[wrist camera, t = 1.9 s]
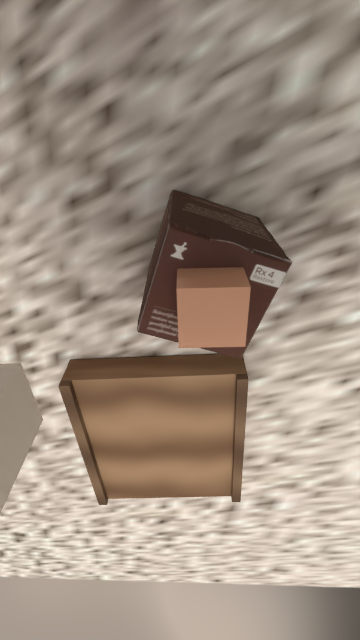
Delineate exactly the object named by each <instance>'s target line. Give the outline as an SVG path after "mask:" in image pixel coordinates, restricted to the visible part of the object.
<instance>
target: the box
mask: <svg viewBox="0 0 360 640" xmlns="http://www.w3.org/2000/svg"><path fill="white" fill-rule="evenodd" d="M291 264H292V261H291V260H290V259H289V258H288V257H287V256H286V255H285V253H284V251H283V250H282V249H281V247H280V246H279V245H278V243H277V242H276V241H275V239H274V238H273V236H272V235H271V234H270V232H269V231H268V230H267V228H266V227H265V226H264V224H263V223H262V222H261V220H260V219H259V218H257V217H254V216H251V215H248V214H245V213H242V212H239V211H236V210H233V209H231V208H227V207H224V206H221V205H219V204H216V203H212V202H209V201H206V200H203V199H200V198H197V197H194V196H191V195H188V194H185V193H182V192H179V191H176V190H173V191H172V192H171V194H170V198H169V201H168V204H167V207H166V211H165V214H164V217H163V221H162V224H161V227H160V231H159V234H158V238H157V241H156V245H155V249H154V253H153V256H152V260H151V263H150V267H149V271H148V276H147V281H146V286H145V291H144V296H143V301H142V305H141V310H140V315H139V319H138V327H137V331H138V332H140V333H144V334H148V335H152V336H156V337H159V338H163V339H167V340H171V341H175V342H179V340H178V315H177V290H176V287H177V269H187V268H229V267H243V268H244V270H245V273H246V276H247V278H248V281H249V284H250V286H251V290H250V301H249V312H248V323H247V334H246V345H245V347H203V348H202V349H206V350H209V351H213V352H217V353H221V354H225V355H229V356H232V357H236V358H242V356H243V354H244V352H245V350H246V349H247V347H248V345H249V343H250V341H251V339H252V337H253V335H254V333H255V331H256V329H257V328H258V326H259V324H260V322H261V320H262V318H263V316H264V314H265V312H266V310H267V308H268V307H269V305H270V303H271V301H272V299H273V297H274V295H275V294H276V292H277V290H278V288H279V287H280V285H281V283H282V281H283V279H284V277H285V275H286V273H287V271H288V269H289V267H290V266H291Z"/></svg>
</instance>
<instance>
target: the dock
mask: <svg viewBox="0 0 360 640" xmlns="http://www.w3.org/2000/svg"><path fill="white" fill-rule="evenodd" d="M59 389H60V392H61V395H62V398H63V401H64V404H65V407H66V410H67V413H68V416H69V419H70V421H71V424H72V427H73V430H74V433H75V436H76V439H77V442H78V445H79V448H80V451H81V454H82V456H83V459H84V462H85V465H86V468H87V471H88V474H89V477H90V480H91V483H92V486H93V489H94V491H95V494H96V497H97V500H98V503H99V505H107V502H108V499H118V498H163V497H207V496H231V497H232V502H240V499H241V484H242V468H243V453H244V438H245V423H246V407H247V392H248V376H247V372H246V367H245V363H244V359H243V356H242V358H236V357H232V356H229V355H225V354H202V355H177V356H152V357H127V358H102V359H77V360H70V362H69V364H68V366H67V369H66V371H65V373H64V375H63V377H62V380H61V382H60V384H59Z"/></svg>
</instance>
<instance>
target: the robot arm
mask: <svg viewBox="0 0 360 640" xmlns="http://www.w3.org/2000/svg"><path fill="white" fill-rule="evenodd" d="M42 421H43V418H42V416H41V413H40V411H39V408H38V406H37V403H36V401H35V398H34V396H33V393H32V390H31V388H30V385H29V383H28V380H27V378H26V375H25V373H24V370H23V367H22V365H21V363H15V364H0V512H1V510H2V508H3V506H4V504H5V502H6V499H7V497H8V495H9V493H10V491H11V488H12V486H13V484H14V482H15V480H16V478H17V475H18V473H19V471H20V469H21V467H22V464H23V462H24V460H25V458H26V456H27V453H28V451H29V449H30V447H31V445H32V443H33V440H34V438H35V436H36V434H37V432H38V429H39V427H40V425H41V423H42Z"/></svg>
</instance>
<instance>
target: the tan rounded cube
mask: <svg viewBox="0 0 360 640" xmlns="http://www.w3.org/2000/svg"><path fill="white" fill-rule="evenodd" d="M176 290H177V315H178V340H179V348H203V347H245V345H246V334H247V323H248V312H249V301H250V290H251V286H250V284H249V281H248V278H247V276H246V273H245V270H244V268H243V267H229V268H187V269H177V287H176Z"/></svg>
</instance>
